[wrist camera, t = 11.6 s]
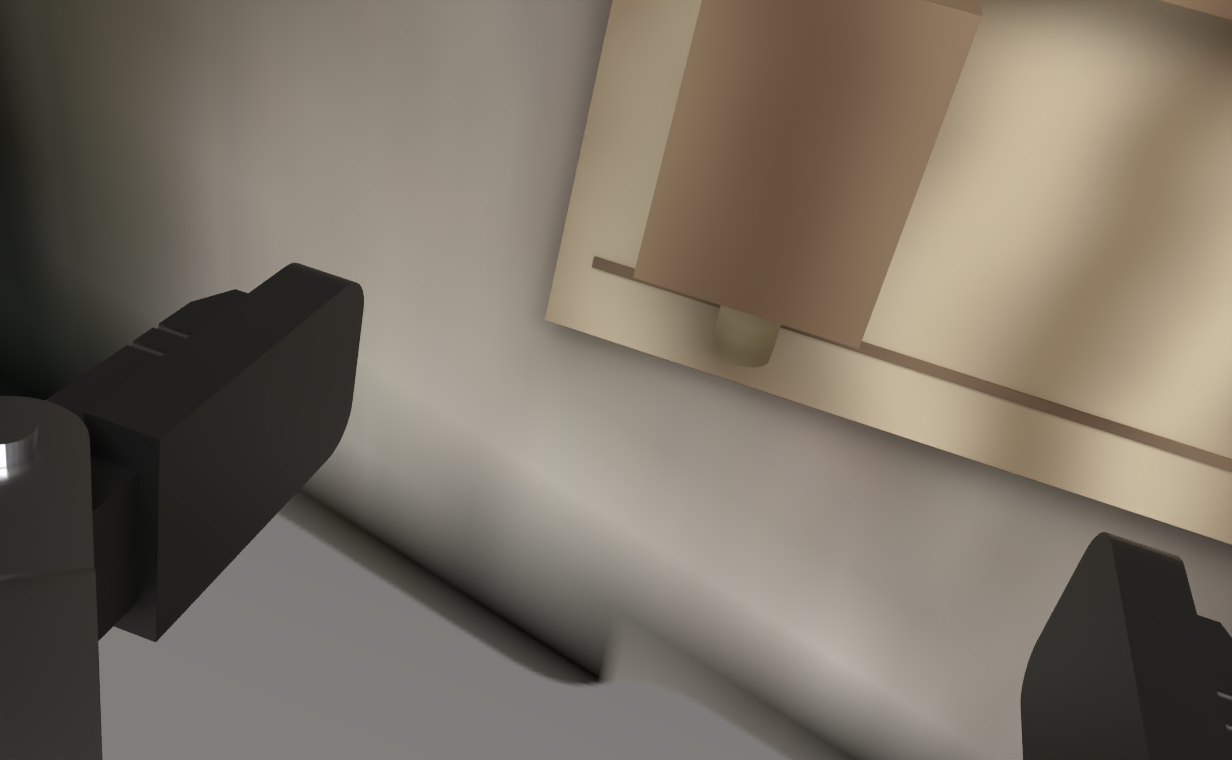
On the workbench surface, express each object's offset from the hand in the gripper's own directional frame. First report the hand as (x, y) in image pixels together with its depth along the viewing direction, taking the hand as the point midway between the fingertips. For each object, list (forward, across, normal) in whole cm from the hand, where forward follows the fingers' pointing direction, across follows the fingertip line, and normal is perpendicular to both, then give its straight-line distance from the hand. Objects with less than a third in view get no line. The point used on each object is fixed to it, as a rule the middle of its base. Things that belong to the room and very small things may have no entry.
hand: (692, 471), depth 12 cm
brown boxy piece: (+18, +1, +2) cm, 18 cm away
